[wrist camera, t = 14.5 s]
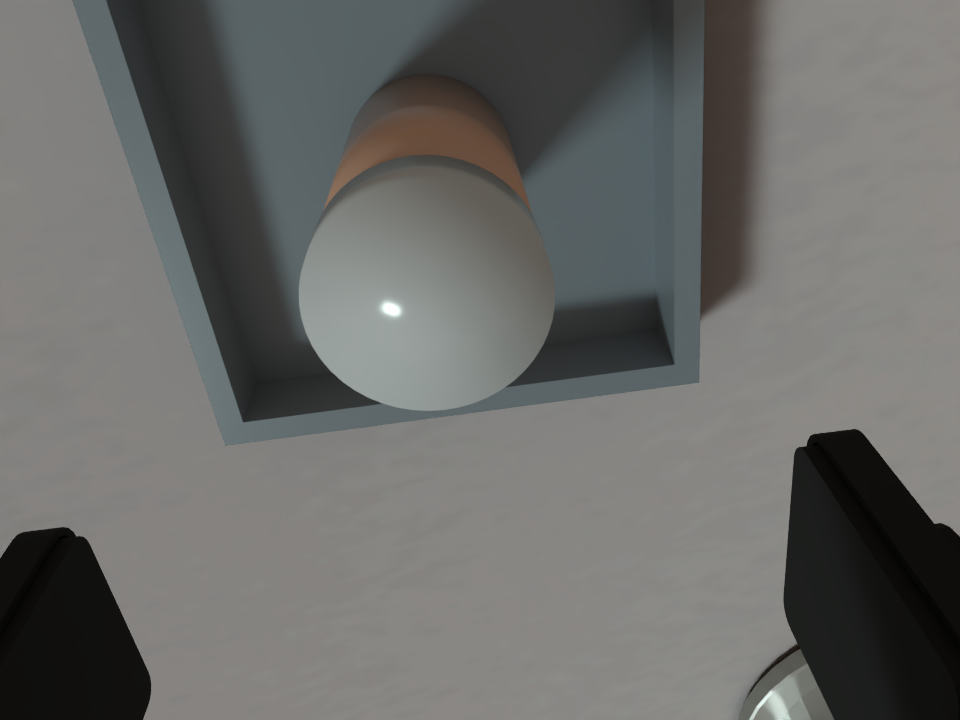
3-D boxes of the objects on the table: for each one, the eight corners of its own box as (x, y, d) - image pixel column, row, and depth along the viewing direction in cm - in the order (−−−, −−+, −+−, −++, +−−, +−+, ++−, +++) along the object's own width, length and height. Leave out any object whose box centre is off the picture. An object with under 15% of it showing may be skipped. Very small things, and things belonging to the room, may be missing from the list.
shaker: (505, 62, 24) (547, 164, 15) (518, 228, 27) (561, 396, 18) (330, 82, 24) (272, 195, 15) (360, 246, 27) (326, 423, 18)
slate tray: (673, -180, 22) (707, -187, 19) (675, 338, 30) (699, 382, 27) (85, -96, 22) (40, -93, 19) (242, 395, 30) (225, 445, 27)
